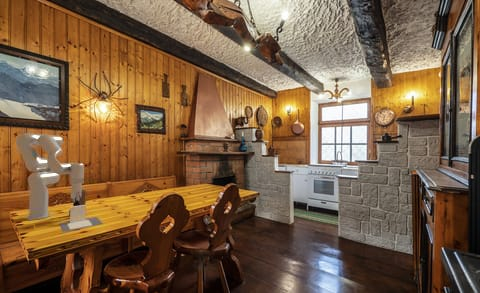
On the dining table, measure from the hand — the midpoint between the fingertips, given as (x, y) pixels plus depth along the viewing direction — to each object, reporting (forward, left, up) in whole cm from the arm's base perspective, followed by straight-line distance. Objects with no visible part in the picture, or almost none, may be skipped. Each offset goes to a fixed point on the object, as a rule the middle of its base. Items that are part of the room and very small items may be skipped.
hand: (76, 208), depth 144 cm
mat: (+15, +1, -8) cm, 17 cm away
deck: (+8, 0, -7) cm, 11 cm away
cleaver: (-10, +2, -8) cm, 13 cm away
